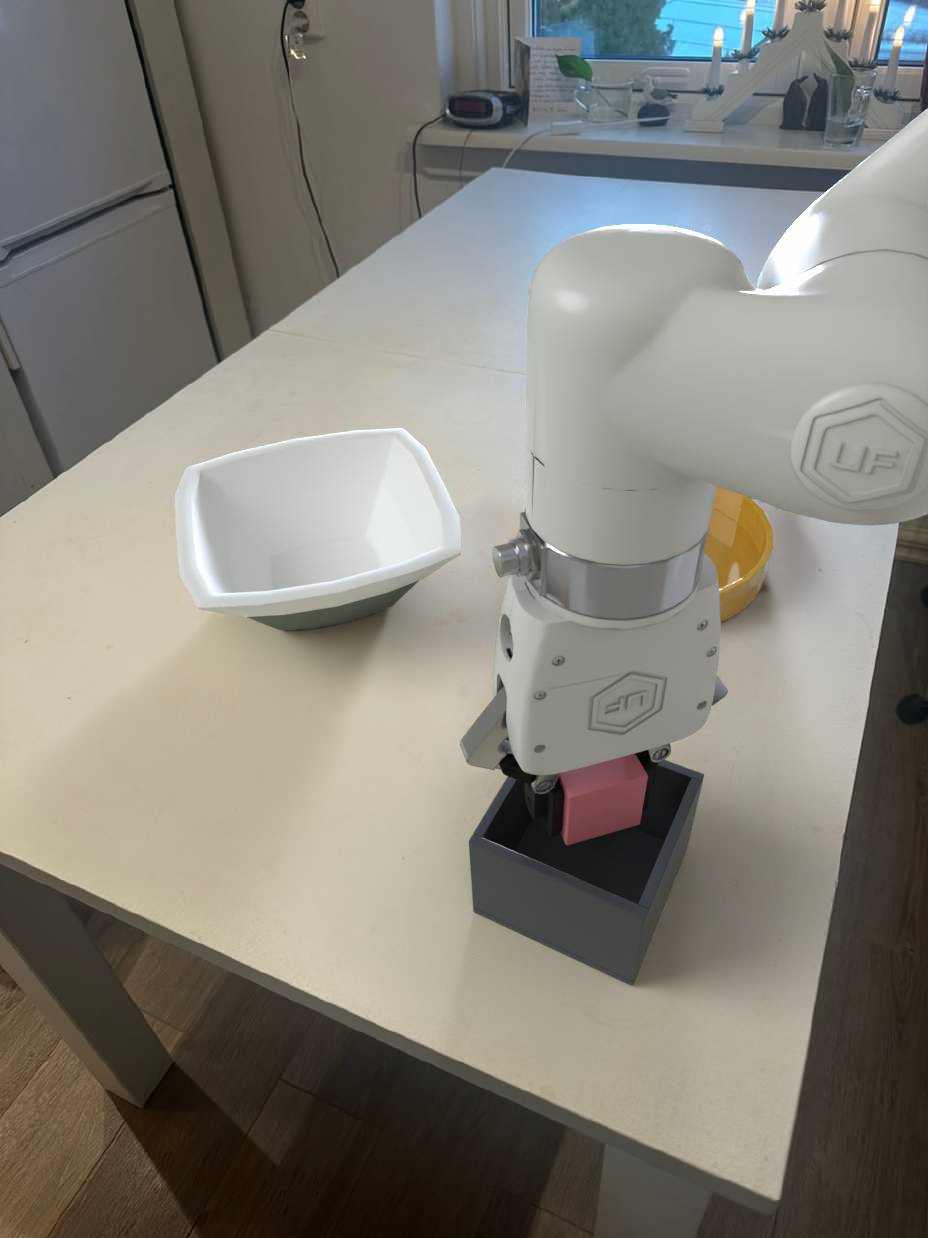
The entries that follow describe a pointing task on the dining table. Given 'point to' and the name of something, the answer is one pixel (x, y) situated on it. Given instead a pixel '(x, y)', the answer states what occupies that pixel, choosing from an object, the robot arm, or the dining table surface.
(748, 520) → the yellow bowl
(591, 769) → the block
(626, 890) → the grey bin
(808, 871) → the dining table surface
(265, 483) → the bowl
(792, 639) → the dining table surface
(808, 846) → the dining table surface
